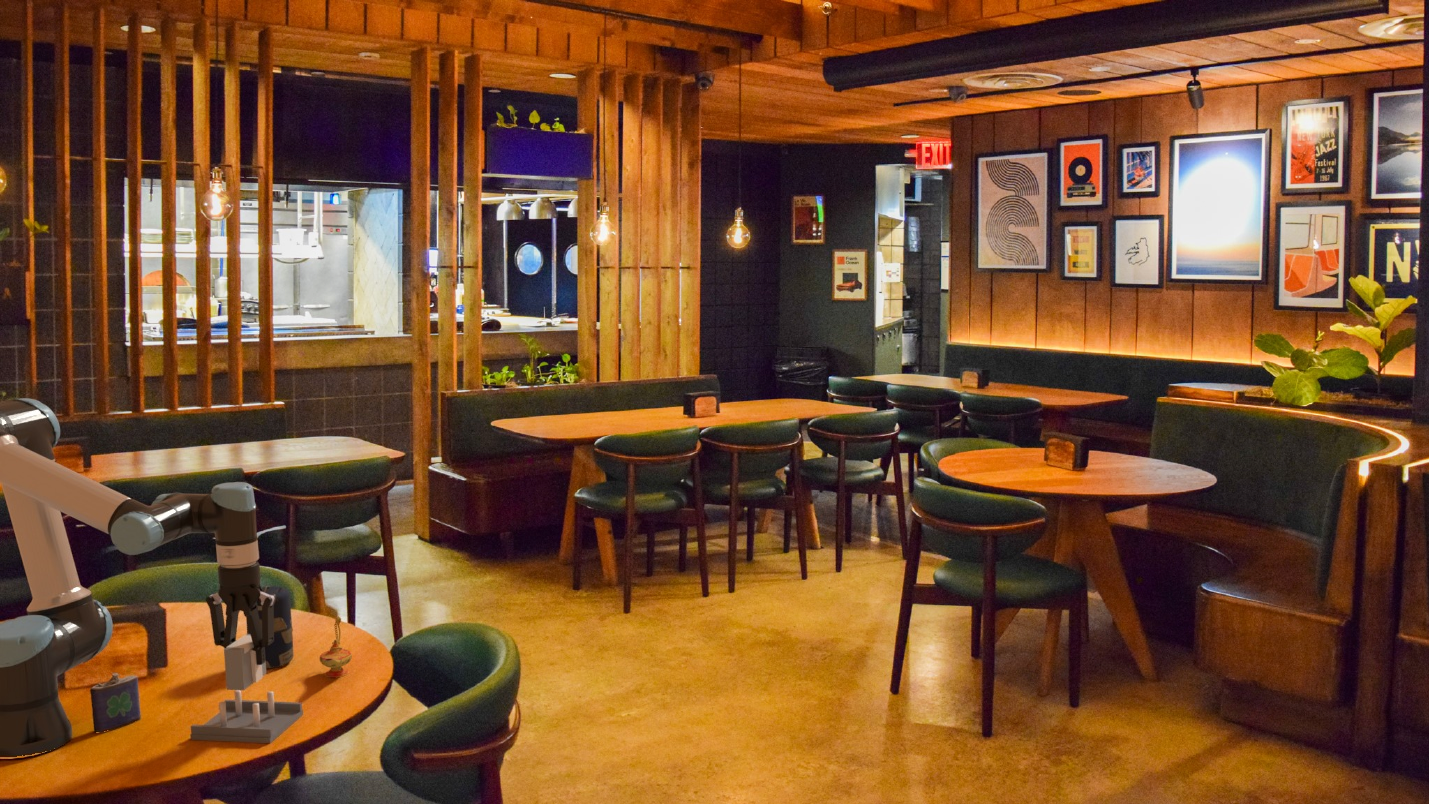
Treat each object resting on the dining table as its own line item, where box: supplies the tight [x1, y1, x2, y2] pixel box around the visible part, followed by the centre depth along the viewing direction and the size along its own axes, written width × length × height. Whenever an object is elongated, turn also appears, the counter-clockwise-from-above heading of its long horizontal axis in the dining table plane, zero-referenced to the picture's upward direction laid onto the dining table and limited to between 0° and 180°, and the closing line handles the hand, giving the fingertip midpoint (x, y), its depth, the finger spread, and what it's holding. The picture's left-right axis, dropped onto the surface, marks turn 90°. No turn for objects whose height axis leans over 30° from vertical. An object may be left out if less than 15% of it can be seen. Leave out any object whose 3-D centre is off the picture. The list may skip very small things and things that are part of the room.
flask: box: [89, 672, 142, 733], centre depth 240 cm, size 9×3×11 cm, turn 144°
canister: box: [246, 585, 294, 669], centre depth 274 cm, size 10×10×18 cm
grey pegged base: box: [190, 690, 304, 744], centre depth 240 cm, size 16×14×6 cm
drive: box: [223, 633, 267, 691], centre depth 238 cm, size 4×9×8 cm, turn 173°
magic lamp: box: [319, 616, 353, 678], centre depth 266 cm, size 7×18×11 cm, turn 9°
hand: (247, 679), depth 239 cm, fingers closed on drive, 4 cm apart
